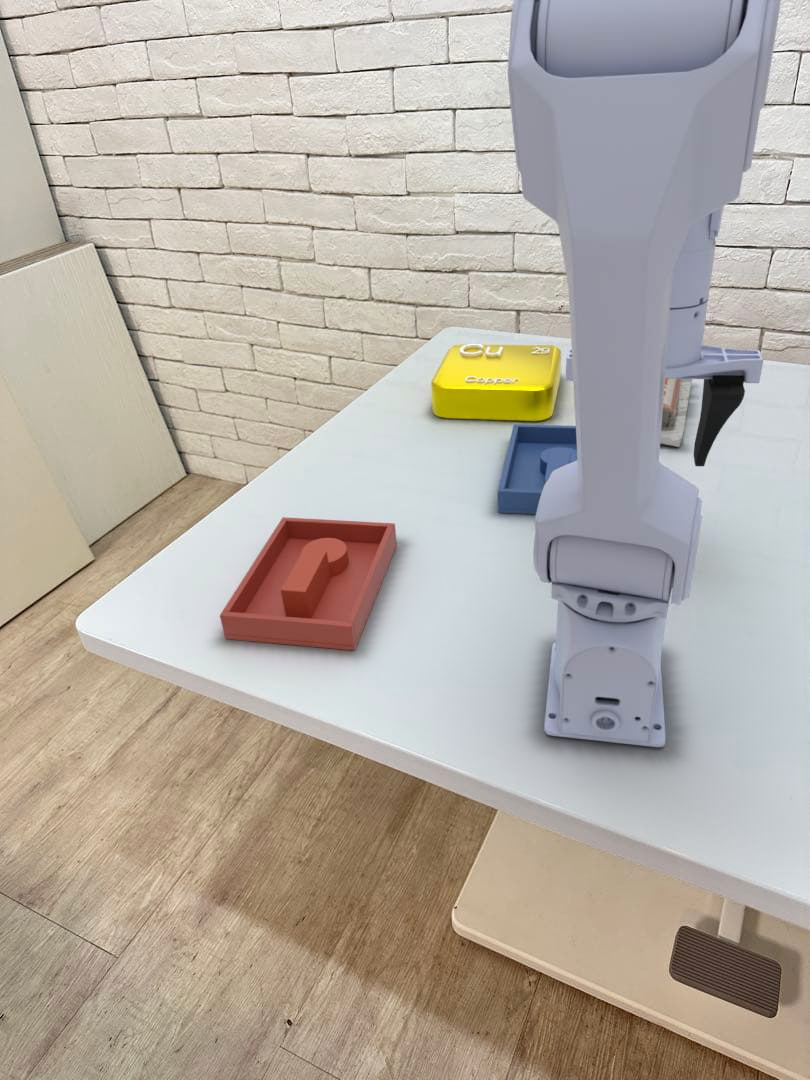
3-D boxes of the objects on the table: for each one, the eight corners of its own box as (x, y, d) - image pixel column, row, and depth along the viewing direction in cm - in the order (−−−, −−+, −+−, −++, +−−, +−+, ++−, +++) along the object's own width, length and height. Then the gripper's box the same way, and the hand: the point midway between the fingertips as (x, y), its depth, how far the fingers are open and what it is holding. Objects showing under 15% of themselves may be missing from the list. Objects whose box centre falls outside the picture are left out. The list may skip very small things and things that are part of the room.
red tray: (354, 650, 64) (351, 626, 62) (225, 639, 66) (219, 615, 65) (397, 545, 76) (395, 523, 75) (286, 538, 78) (282, 517, 77)
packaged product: (614, 345, 102) (696, 349, 99) (611, 381, 105) (691, 386, 101) (591, 401, 88) (686, 409, 85) (589, 441, 91) (680, 449, 88)
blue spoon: (576, 508, 78) (578, 482, 76) (533, 506, 79) (534, 480, 77) (580, 460, 86) (581, 435, 85) (541, 459, 87) (541, 434, 85)
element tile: (429, 418, 99) (427, 382, 96) (452, 373, 111) (450, 339, 108) (551, 423, 95) (552, 385, 93) (561, 375, 108) (562, 340, 105)
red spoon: (321, 621, 66) (317, 592, 65) (274, 617, 67) (268, 588, 66) (354, 553, 74) (350, 526, 73) (311, 550, 75) (307, 523, 74)
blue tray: (613, 518, 77) (615, 496, 76) (497, 512, 79) (497, 491, 78) (613, 447, 89) (615, 426, 88) (513, 443, 92) (513, 424, 90)
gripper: (763, 280, 61) (736, 440, 69) (571, 283, 64) (565, 435, 72) (779, 310, 55) (747, 480, 63) (567, 311, 59) (560, 473, 66)
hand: (650, 459), depth 67 cm, fingers open, 7 cm apart
